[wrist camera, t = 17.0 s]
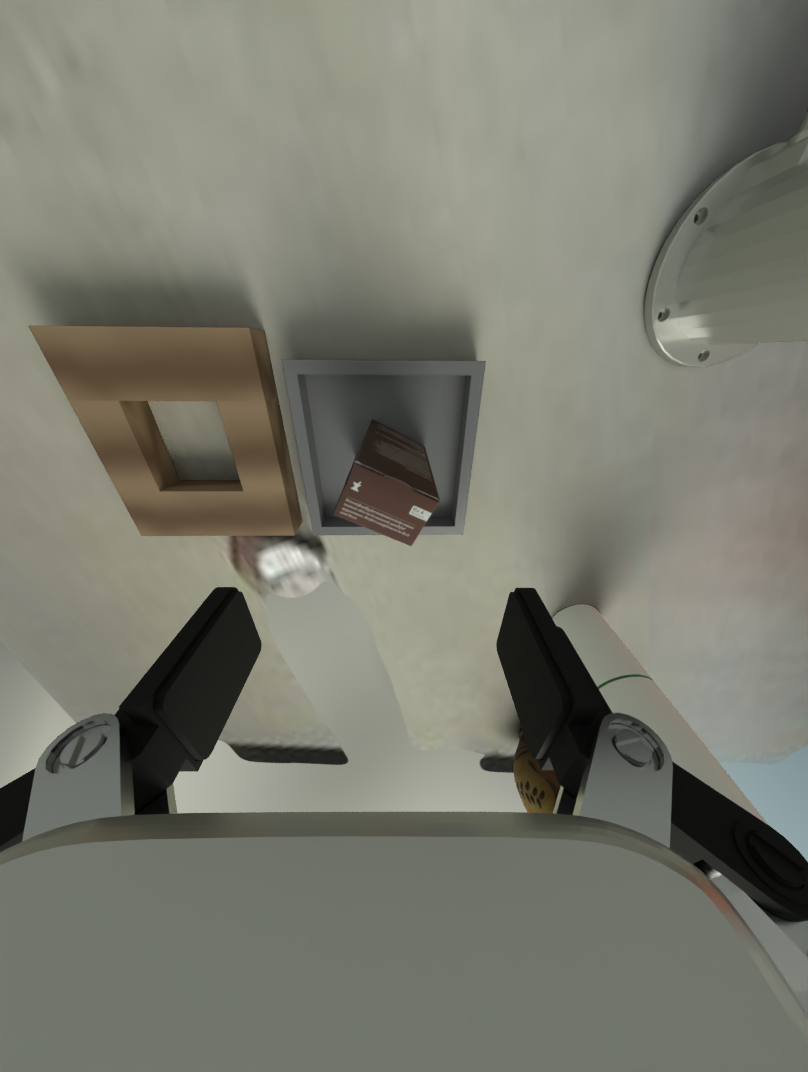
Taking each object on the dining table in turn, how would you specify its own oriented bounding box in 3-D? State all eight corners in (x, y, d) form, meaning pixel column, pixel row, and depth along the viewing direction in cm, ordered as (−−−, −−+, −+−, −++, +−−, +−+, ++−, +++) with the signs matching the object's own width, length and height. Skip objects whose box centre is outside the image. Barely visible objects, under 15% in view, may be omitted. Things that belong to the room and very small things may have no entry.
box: (353, 460, 29) (329, 516, 19) (371, 417, 27) (355, 453, 17) (407, 485, 31) (412, 550, 20) (428, 447, 29) (445, 496, 18)
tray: (293, 359, 25) (281, 359, 23) (476, 361, 26) (485, 361, 23) (319, 521, 34) (313, 535, 31) (458, 521, 34) (463, 534, 31)
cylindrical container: (547, 641, 45) (682, 893, 24) (551, 608, 41) (714, 872, 20) (595, 634, 45) (776, 887, 23) (603, 601, 41) (827, 864, 20)
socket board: (67, 329, 24) (28, 325, 21) (264, 331, 24) (248, 327, 22) (161, 522, 33) (141, 535, 31) (302, 521, 33) (294, 535, 31)
